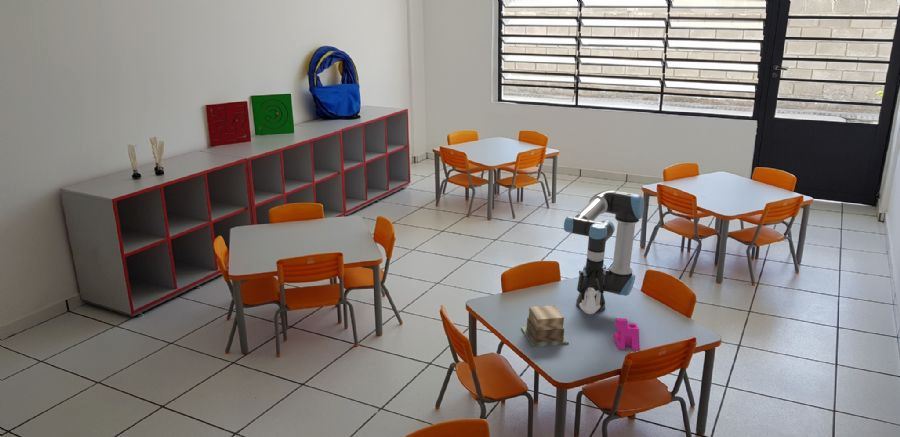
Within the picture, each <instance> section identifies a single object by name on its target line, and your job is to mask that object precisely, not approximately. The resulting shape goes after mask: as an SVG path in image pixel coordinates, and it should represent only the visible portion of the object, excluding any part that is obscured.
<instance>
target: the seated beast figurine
mask: <svg viewBox="0 0 900 437" xmlns="http://www.w3.org/2000/svg"><path fill="white" fill-rule="evenodd" d="M596 293H597V291H595V289H594V288H591V287H590V288H588V289H587V290H586V292H585V294H587V295H586V296H587V298H586V305H585V307H583V306H582V303H580V308H581V310H582V311H583V312H584V313H585V314H586V315H587V314H588V315H593V314H595V313H596V312H598V311H597V310H598V309H599V308H600V306H598V305H597V304H596V300H595V297H594V296H595V295H596ZM580 308H579V309H580Z"/></svg>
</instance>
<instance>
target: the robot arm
mask: <svg viewBox="0 0 900 437" xmlns="http://www.w3.org/2000/svg"><path fill="white" fill-rule="evenodd" d="M644 211H645V200H644V197H643V196H642V195H640V194H636V193H635V192H633V193H632V192H631V193H630V192H625V191H620V190H614V189H613V190H612V189H608V190H604V191H600V192H598V193H596V194H594V195H592V197H591V198H590V199H589V201H588V204H587V205H585V207H583V208H582V209H581V210H580V211H579V212H578V213H577V214H576V215H575V216H574V215H572V216H571V215H568V216H566V217H565V219H564V221H563V230H564V231H565V232H566V233H570V234H573V235H574V234H575V235H580V236H585V237H588V240H587V241H588V242H587V243H588V244H587V250H586V251H587V253H586V262H585V265H584V266H583V268H582V270H579V271H578V275H579V276H578V282H577V288H576V290H577V292H578V295H577V297H576V302H575V303H576V307H577V308H578V309H581V308H580V303H582V306H583V307H585V305H586V298H587V296H586V295H587V294H585V292H586V290H587V289H588V288H590V287H591V288H594V289H595V291H597V293H596V295H595V296H594V297H595V300H596V304H597V305H598V306H600V308H599V309H598V310H597V311H596V312H600V311H603V310H604V309H605V308H606V300H605V296H604V293H605V292H607V293H611V294H614V295H618V296H625V297H627V296H629V295H630V293H631V292H632V290H633V287H634V284H635V282H636V275H635V274H633V269H632V268H631V261H632V254H633V253H632V252H633V245H634V237H635V228H636V224H637V223H639V221H640V220H641V219H643V216H644ZM604 213H606V214H612V215H615V216H614V219H615V220H616V221H617V226H616V228H615V225H614V223H613V222H612V221H610V220H607V219H606V220H602V221H597V220H596V219H597V218H598V217H599V216H600V215H602V214H604ZM615 230H616V232H615ZM614 233H615V234H616V235H615V242H614V245H615V246H614V252H613V260H612V265H610V266H609V268H607V265H606V264H604V262H605V261H604V259H605V255H606V254H605V253H606V243H607V241H608V240H609V239H610V238H611V237H612V236H613V234H614ZM581 310H582V309H581Z"/></svg>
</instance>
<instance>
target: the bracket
mask: <svg viewBox="0 0 900 437" xmlns="http://www.w3.org/2000/svg"><path fill="white" fill-rule="evenodd" d="M614 326H615V329H616V330H617V331H616V332H615V331H614V332H613V338H614V341H615V346H616V348H617V350H626V346H630V348H631V350H632V351H641V350H640V349H641V346H640V344H641V343H640V328H639V325H638V324H637V323H631V322H630V323H628V319H627V318H625V317H623V318H621V317H619V318H618V317H615V323H614Z"/></svg>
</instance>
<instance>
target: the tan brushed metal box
mask: <svg viewBox="0 0 900 437" xmlns="http://www.w3.org/2000/svg"><path fill="white" fill-rule="evenodd" d="M528 307H529V309H528V317H527V319H526V326H521V330H522V332H523V334H524V335H525V337H526V338H527V340H528V342H529V344H530V345H531V347H532V348H536V347H538V348H539V347H546V346H547V347H549V346H550V347H551V346H559V345H561V346H562V345H569V344H570V342H569V340H568V339H567V337H566V336H565V327H564V324H565V323H564V320H565V316H563V314H562V313H561V312H560V310H559V309H558V307H557V306H556V305H555V304H553V305H552V304H550V305H541V306H540V305H539V306H538V305H536V306H528Z"/></svg>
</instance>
